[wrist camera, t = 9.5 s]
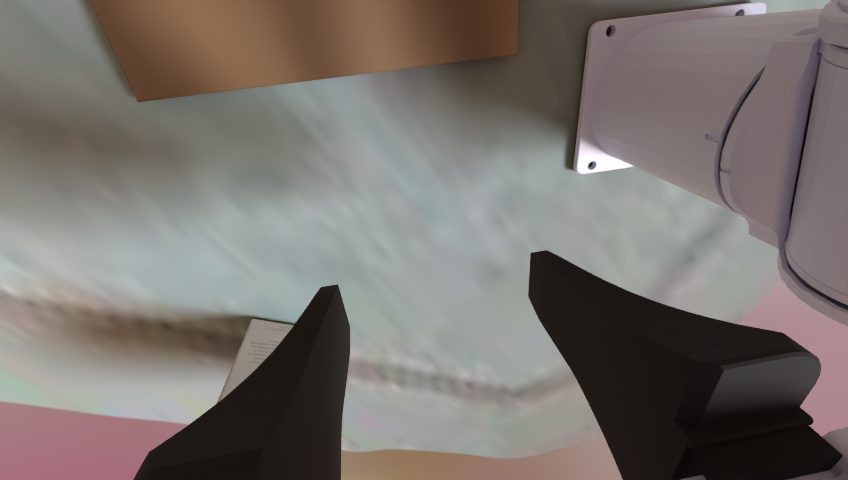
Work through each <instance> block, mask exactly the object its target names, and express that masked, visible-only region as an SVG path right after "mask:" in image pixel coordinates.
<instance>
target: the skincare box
mask: <svg viewBox="0 0 848 480" xmlns="http://www.w3.org/2000/svg"><path fill="white" fill-rule="evenodd" d="M293 326H294V325H289V324H282V323H276V322H270V321H264V320H258V319H252V320H251V321H250V325H249V327H248V329H247V332H246V334H245V337H244V339H243V342H242V344H241V346H240V349H239V351H238V354H237V356H236V358H235V361H234V363H233V366H232V368H231V370H230V373H229V375H228V378H227V380H226V382H225V385H224V387H223V390H222V392H221V394H220V397H219V399H218V402H219V401H221V400H222V399H223V398H224V397H226V396H227V395H228V394H229V393H230V392H231V391H232V390H234V389H235V388H236V387H237V386H238V385H239V384H240V383H241V382H242V381H244V380H245V379H246V378H247V377H248V376H249V375H250V374H251V373H252V372H253V371H254V370H255V369H256V368H257V367H258V366H259V365H260V364H261V363H262V362H263V361H264V360H265V359H266V358H267V357H268V356H269V355H270V354H271V353H272V352H273V351H274V349H275V348H276V347H277V346H278V345H279V343H280V342H281V341H282V340H283V339H284V337H285V336H286V335H287V334H288V332H289V331H290V330H291V329H292V327H293ZM218 402H217V403H218Z"/></svg>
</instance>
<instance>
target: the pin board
mask: <svg viewBox="0 0 848 480" xmlns="http://www.w3.org/2000/svg"><path fill="white" fill-rule="evenodd" d="M89 1H90V3H91V5H92V7H93V9H94V11H95V13H96V16H97V18H98V20H99V22H100V24H101V26H102V28H103V30H104V32H105V34H106V36H107V38H108V40H109V42H110V45H111V47H112V49H113V51H114V53H115V55H116V57H117V59H118V61H119V63H120V65H121V67H122V69H123V71H124V74H125V76H126V78H127V80H128V82H129V84H130V86H131V88H132V90H133V92H134V94H135V96H136V98H137V100H138V102H142V101H150V100H158V99H166V98H174V97H182V96H190V95H198V94H206V93H214V92H222V91H230V90H238V89H246V88H254V87H262V86H270V85H278V84H286V83H294V82H302V81H310V80H318V79H326V78H334V77H342V76H350V75H358V74H366V73H374V72H382V71H390V70H398V69H406V68H414V67H422V66H430V65H438V64H446V63H454V62H462V61H470V60H478V59H485V58H493V57H501V56H509V55H517V54H518V20H519V0H89Z"/></svg>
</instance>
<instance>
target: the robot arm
mask: <svg viewBox="0 0 848 480" xmlns="http://www.w3.org/2000/svg"><path fill="white" fill-rule="evenodd" d="M736 12H738V13H737V16H735V14H736ZM765 12H766V5H765V3H764V2H753V3H745V4H736V5H728V6H720V7H711V8H703V9H695V10H687V11H678V12H670V13H662V14H654V15H645V16H637V17H629V18H620V19H612V20H604V21H598V22H595V23H594V24H593V25H592V26H591V28H590V29H589V33H588V40H587V49H586V58H585V67H584V76H583V85H582V94H581V103H580V111H579V120H578V129H577V138H576V147H575V156H574V165H573V168H574V171H575V172H577V173H579V174H588V173H595V172H602V171H608V170H615V169H622V168H628V167H637V168H639V169H641V170H643V171H646V172H648V173H650V174H652V175H655V176H657V177H659V178H661V179H663V180H666V181H668V182H670V183H672V184H674V185H677V186H679V187H681V188H683V189H685V190H688V191H690V192H692V193H694V194H697V195H699V196H701V197H703V198H705V199H708V200H710V201H712V202H714V203H716V204H719V205H721V206H723V207H725V208H727V209H730V210H732V211H734V212H736V213H739V214H740V215H742V216H743V217H744V218H745V219H746V220H747V222H748V225H749V234H750V235H752V236H754V237H756V238H758V239H760V240H762V241H764V242H766V243H768V244H770V245H772V246H774V247H776V248H778V249H779V253H778V270H779V273H780V275H781V278H782V280H783V281H784V282H785V284H786V285H787V287H788V288H789V289H790V290H791V291H792V292H793V293H794V294H795V295H796V296H797V297H798V298H799V299H801V300H802V301H803V302H805V303H806V304H807V305H809V306H810V307H812V308H813V309H815V310H817V311H818V312H820V313H822V314H824V315H825V316H827V317H829V318H831V319H833V320H835V321H837V322H840V323H842V324H844V325H846V326H848V0H831V1H830V2H829V3H828V4H827V5H825V7H824V9H814V10H803V11H791V12H779V13H767V14H765ZM609 26H610V27H611V33H610V35H609V36H608V37H607V35H606V30H607V28H608V27H609ZM592 161H593V164H592V166H591V167H589V168H588V164H589V163H590V162H592ZM528 296H529V299H530V301H531V303H532V305H533V308H534V310H535V312H536V314H537V316H538V318H539V320H540V322H541V323H542V325H543V326H544V328H545V330H546V331H547V333H548V334H549V336H550V337H551V339H552V341H553V342H554V344H555V345H556V347H557V348H558V350H559V351H560V353H561V355H562V356H563V358H564V359H565V361H566V362H567V364H568V365H569V367H570V369H571V370H572V372H573V374H574V375H575V377H576V379H577V381H578V383H579V385H580V387H581V389H582V391H583V393H584V395H585V397H586V399H587V401H588V403H589V405H590V407H591V409H592V411H593V413H594V415H595V417H596V420H597V422H598V424H599V426H600V428H601V430H602V432H603V435H604V437H605V439H606V441H607V444H608V446H609V448H610V450H611V452H612V455H613V457H614V459H615V462H616V464H617V466H618V469H619V471H620V473H621V475H622V478H623V480H848V427H847V428H842V429H837V430H835V431H832V432H829V433H827V434H826V435H824V436H823V437H821V436H820V435H819V434H818V433H816V432H815V431H814V430H813V429H812V428H811V427H810V426H808V425H811V424H812V423H813V419H812V417H811V416H810V415H808V414H807V413H806V412H805V411H804V410H802V409H801V408H800V405H801V404H802V403H803V401H804V400H805V398H806V397H807V395H808V394H809V392H810V391H811V389H812V388H813V387H814V385H815V384H816V382H817V380H818V378H819V376H820V371H821V364H820V361H819V359H818V358H817V357H816V356H815V355H813V354H812V353H811V352H809V351H808V350H806V349H805V348H803V347H802V346H801V345H799V344H798V343H796V342H795V341H794V340H792V339H791V338H789V337H788V336H787V335H785V334H783V333H781V332H775V331H770V330H765V329H759V328H754V327H748V326H743V325H738V324H733V323H729V322H725V321H721V320H716V319H712V318H708V317H704V316H701V315H697V314H693V313H690V312H686V311H683V310H680V309H676V308H673V307H670V306H667V305H664V304H661V303H658V302H655V301H652V300H650V299H647V298H644V297H642V296H639V295H637V294H634V293H632V292H629V291H627V290H624V289H622V288H620V287H618V286H616V285H613V284H611V283H609V282H607V281H605V280H603V279H601V278H599V277H597V276H595V275H593V274H591V273H589V272H587V271H585V270H583V269H581V268H579V267H578V266H576V265H574V264H572V263H570V262H568V261H567V260H565V259H563V258H561V257H559V256H557V255H555V254H553V253H551V252H549V251H547V250H546V251H540V252H534V253H531V259H530V277H529V294H528ZM349 356H350V325H349V322H348V318H347V315H346V311H345V308H344V304H343V301H342V297H341V294H340V290H339V287H338V285H332V286H326V287H321V288H320V289H319V291H318V292H317V293H316V295H315V296H314V298H313V299H312V301H311V302H310V304H309V305H308V306H307V308H306V309H305V311H304V312H303V314H302V315H301V316H300V318H299V319H298V320H297V322H296V323H295V325H294V326H293V327H292V329H291V330H290V331H289V332H288V334H287V335H286V336H285V337H284V339H283V340H282V341H281V342H280V343H279V345H278V346H277V347H276V348H275V349H274V351H273V352H272V353H271V354H270V355H269V356H268V357H267V358H266V359H265V360H264V361H263V362H262V363H261V364H260V365H259V366H258V367H257V368H256V369H255V370H254V371H253V372H252V373H251V374H250V375H249V376H248V377H247V378H246V379H245V380H244V381H242V382H241V383H240V384H239V385H238V386H237V387H236V388H235V389H234V390H232V391H231V392H230V393H229V394H228V395H227V396H226V397H224V398H223V399H222V400H221V401H219V402H218V403H217V404H216V405H215V406H213V407H212V408H211V409H209V410H208V411H207V412H206V413H204V414H203V415H202V416H200V417H199V418H198V419H196V420H195V421H194V422H192V423H191V424H190V425H188V426H187V427H185V428H184V429H183V430H181V431H180V432H178V433H177V434H175V435H174V436H172V437H171V438H169V439H168V440H166V441H165V442H163V443H162V444H161V445H159V446H158V447H156V448H155V449H153V450H151V451H150V452H149V453H148V455H147V457H146V458H145V460H144V462H143V464H142V465H141V467H140V469H139V470H138V472H137V474H136V476H135V478H134V480H341V432H342V413H343V404H344V396H345V388H346V381H347V373H348V364H349Z"/></svg>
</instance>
